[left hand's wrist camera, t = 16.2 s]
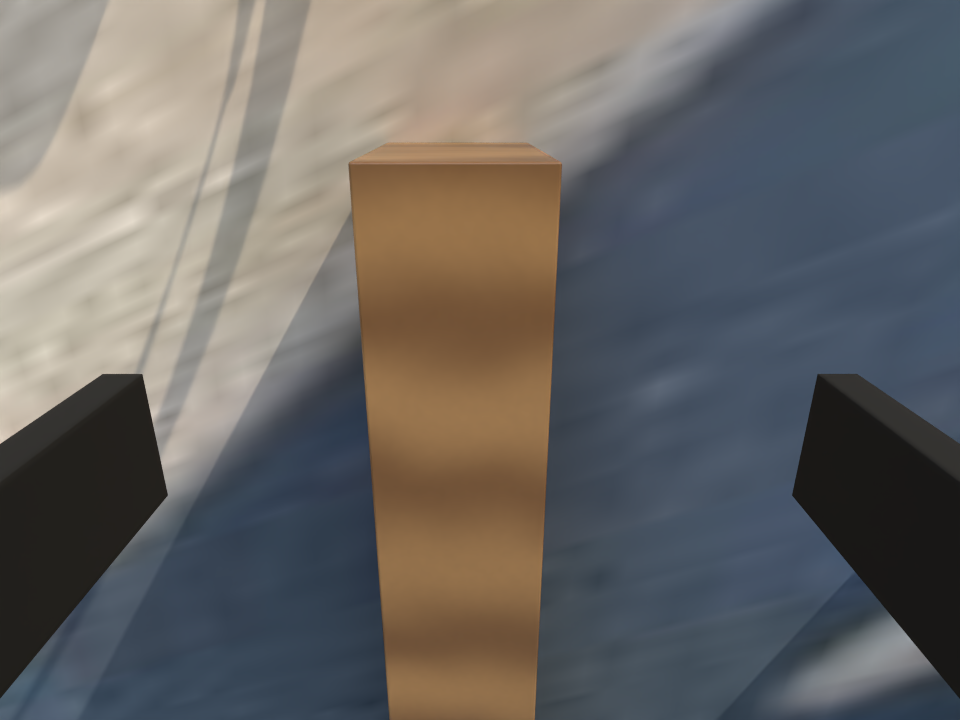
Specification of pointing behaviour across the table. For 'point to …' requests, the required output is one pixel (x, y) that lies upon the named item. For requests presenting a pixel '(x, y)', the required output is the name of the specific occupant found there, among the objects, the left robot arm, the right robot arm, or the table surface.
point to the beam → (458, 414)
